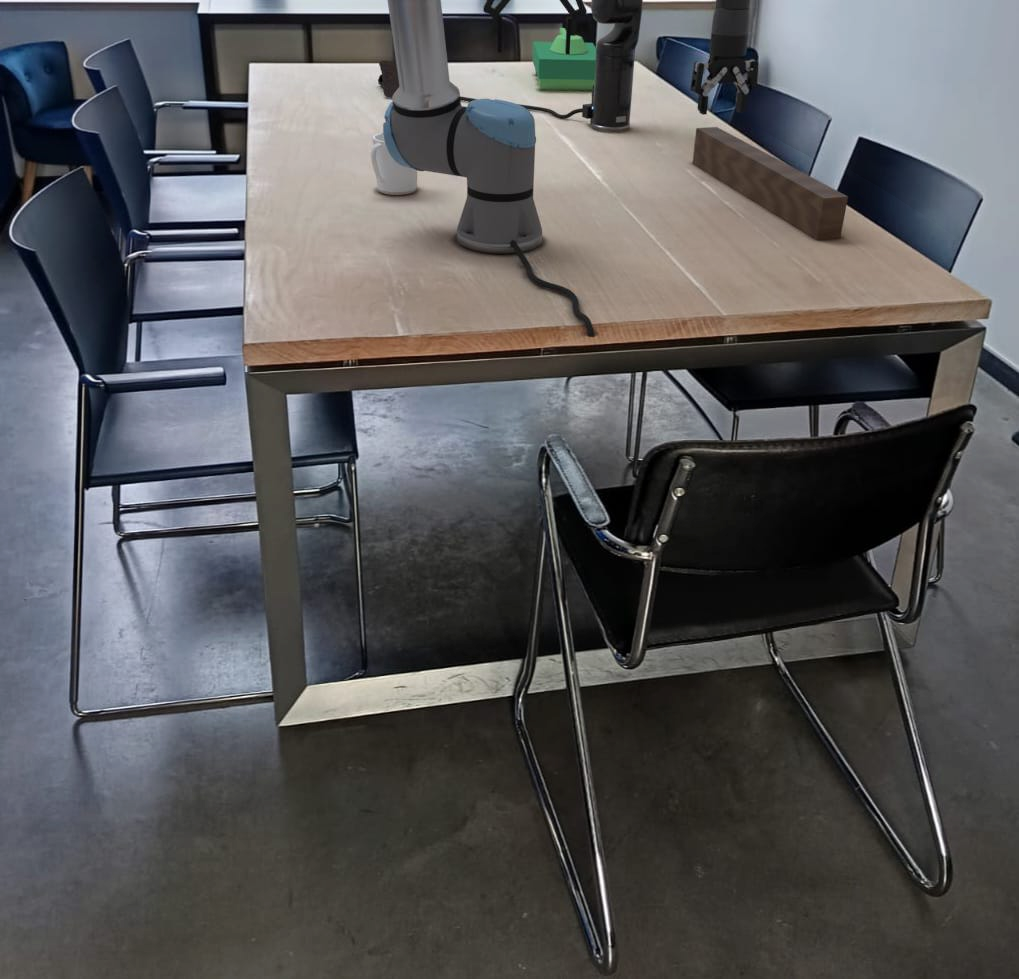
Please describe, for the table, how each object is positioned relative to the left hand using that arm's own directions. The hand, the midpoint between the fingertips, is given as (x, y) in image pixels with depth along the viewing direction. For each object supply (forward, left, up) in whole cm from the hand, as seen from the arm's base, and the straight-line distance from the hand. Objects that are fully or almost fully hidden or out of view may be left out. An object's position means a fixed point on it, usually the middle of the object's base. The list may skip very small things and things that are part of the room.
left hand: (533, 52), depth 219 cm
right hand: (+13, -39, -13) cm, 43 cm away
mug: (-16, +26, -25) cm, 39 cm away
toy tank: (+102, +1, -25) cm, 105 cm away
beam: (-6, -48, -25) cm, 54 cm away
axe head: (+76, +43, -25) cm, 91 cm away
